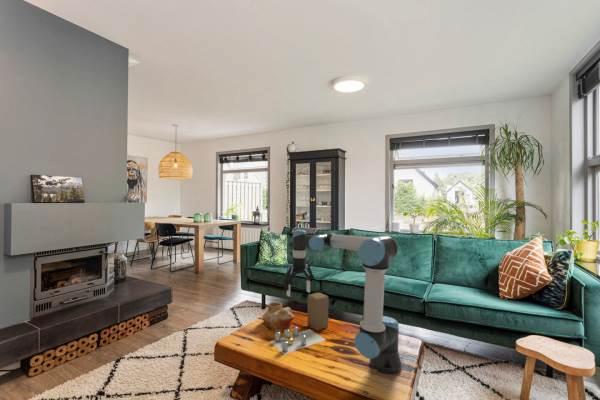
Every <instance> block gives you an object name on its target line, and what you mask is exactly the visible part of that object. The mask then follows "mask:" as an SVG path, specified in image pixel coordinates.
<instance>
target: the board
mask: <svg viewBox="0 0 600 400" xmlns="http://www.w3.org/2000/svg"><path fill="white" fill-rule="evenodd" d="M303 334H304V335H306V346H301V335H303ZM290 336H292V337H293V338H294V344H293V345H291V346H288V352H286V353H284V352H282V341H284V340H285V339H284V336H283V337H282V336H281V342H279V343H276V342H275V339H274V340H270V341H269V343H271V345H273V346H274V347H275V348H276V349H278V351H280V352H281V353H282V354H283V355H287V354H290V353H293V352H295V351H298V350H301V349H304V348H306V347H310V346H312V345H315V344H318V343H321V342H324V341H326V340H327V339H326V338H324V337H323V336H321V335H320V334H318V333H316V332H315V331H313V330H312V329H310V328H309V329H306V330H302V331H298V337H294V336H293V333H292V334H290Z"/></svg>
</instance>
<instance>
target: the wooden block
mask: <svg viewBox="0 0 600 400" xmlns="http://www.w3.org/2000/svg"><path fill="white" fill-rule="evenodd" d="M307 326H309V328H311V329H313V330H314V331H320V330H323V329H326V328H328V327H329V296H328V295H326V294H323V293H322V292H314V293H311V294H310V293H309V294H308V295H307Z"/></svg>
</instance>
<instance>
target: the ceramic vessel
mask: <svg viewBox="0 0 600 400" xmlns="http://www.w3.org/2000/svg"><path fill="white" fill-rule="evenodd" d="M295 318H296V317H295V315H294V314H293V311H292V309H291V307H289V306H287V307H283V304H282V302H278V301H272V302H269V303H268V304H267V310H266V312H264V313H263V316H262V321H263V323H264V326H265V328H268V329H269V330H270V331H273V332H274V333H275V332H277V331H279V332H281V333H284V330H285V329H289V330H290V331H291V329H292V330H293V327H292V321H293V320H294V319H295Z"/></svg>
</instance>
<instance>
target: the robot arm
mask: <svg viewBox="0 0 600 400" xmlns="http://www.w3.org/2000/svg"><path fill="white" fill-rule="evenodd" d="M326 247H327V248H336V249H344V250H352V251H357V252H358V258H359V259H360V261H361V262H362V265H361V266H362V268H364V270H365V276H364V295H363V296H364V298H363V318H362V320H361V321H360V322H359V330H358V331H359V332H358V333H356V335H355V336H354V342H353V343H354V346H355V349H356V350H357V351H358V352H359V354H360V355H361V356H362V357H364V358H366V359H369V364H370V366H371V368H373V369H374V370H375V371H378V372H380V373H384V374H389V375H390V374H396V373H400V371H402V369H403V368H402V367H403V366H402V365H403V364H402V360H401V357H400V353H399V331H400V330H399V329H400V327H399V322H398V321H397V320H396V319H395V318H394V317H390V316H386V315H384V314H383V313H384V298H385V297H384V296H385V282H386V281H385V276H386V271H388V270H389V266H390V260H393V259H394V258H395V257H396V256H397V254H398V252H399V245H398V242H397V241H396V240H395V238H393V237H392V236H390V235H374V236H372V237H371V236H359V235H358V236H357V235H347V234H338V233H337V234H336V233H333V232H327V233H322V234H321V233H319V234H313V235H312V234H307V231H306V230H304V229H295V230H293V232H292V266H287V269H286V272H285V275H284V277H283V280H282V282H281V283H282V284H284V286H285V291H286V296H287V297H288V298H289V297H291V284H290V283H291V282H292V280H293V279H294V278H295V276H296V275H299V274H303V276H304V277H306V279H307V280H306V292H307V293H308V294H310V293H311V287H312V282H313V280H315V276H314V274H313V271H312V270H311V265H310V264H308V263H306V262H307V260H306V257H307V256H306V255H307V254H306V253H307V252H306V249H308V250H313V251H320V250H322V248H323V249H324V248H326ZM306 270H307V271H306Z"/></svg>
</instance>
